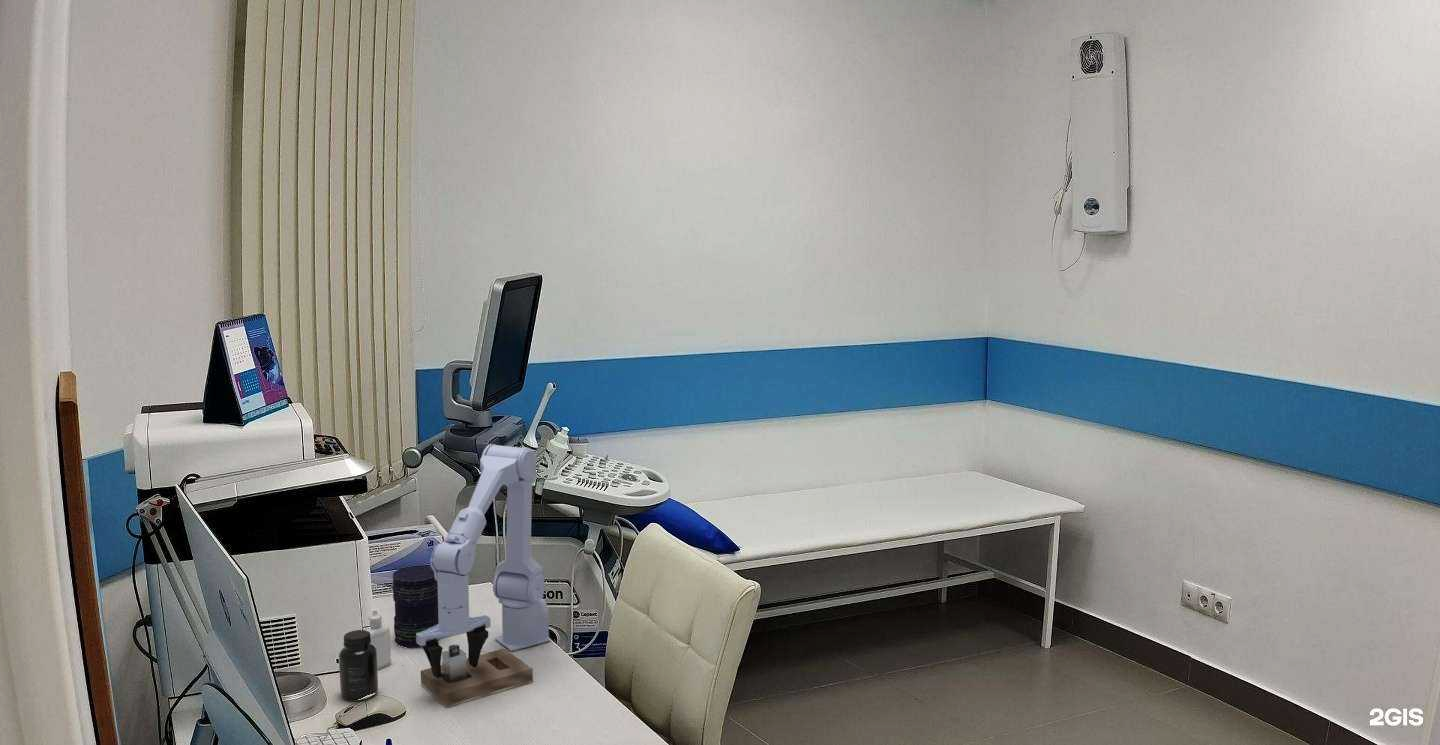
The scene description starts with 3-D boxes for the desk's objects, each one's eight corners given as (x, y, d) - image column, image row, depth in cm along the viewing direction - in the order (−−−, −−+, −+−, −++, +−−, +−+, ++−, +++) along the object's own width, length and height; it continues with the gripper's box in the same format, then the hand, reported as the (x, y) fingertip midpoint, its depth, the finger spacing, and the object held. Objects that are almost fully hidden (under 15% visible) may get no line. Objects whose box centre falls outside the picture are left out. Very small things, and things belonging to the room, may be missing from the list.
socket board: (504, 660, 213) (504, 648, 213) (532, 681, 204) (532, 668, 204) (421, 684, 202) (420, 670, 202) (446, 707, 193) (446, 693, 193)
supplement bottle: (385, 689, 200) (383, 630, 198) (362, 704, 194) (360, 644, 192) (356, 683, 202) (354, 625, 200) (332, 698, 196) (330, 638, 194)
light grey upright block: (459, 681, 203) (458, 641, 202) (467, 687, 200) (466, 647, 199) (442, 686, 201) (441, 646, 199) (450, 692, 198) (449, 652, 197)
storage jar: (429, 650, 218) (427, 582, 216) (385, 646, 219) (383, 579, 217) (449, 632, 227) (447, 567, 225) (407, 628, 229) (405, 563, 227)
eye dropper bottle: (392, 668, 209) (390, 611, 207) (363, 673, 207) (361, 615, 205) (389, 659, 213) (387, 604, 211) (361, 664, 211) (358, 608, 209)
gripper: (478, 589, 205) (479, 653, 208) (408, 606, 196) (410, 673, 198) (495, 599, 200) (496, 665, 202) (424, 617, 191) (426, 686, 193)
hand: (455, 670), depth 200 cm, fingers open, 7 cm apart
